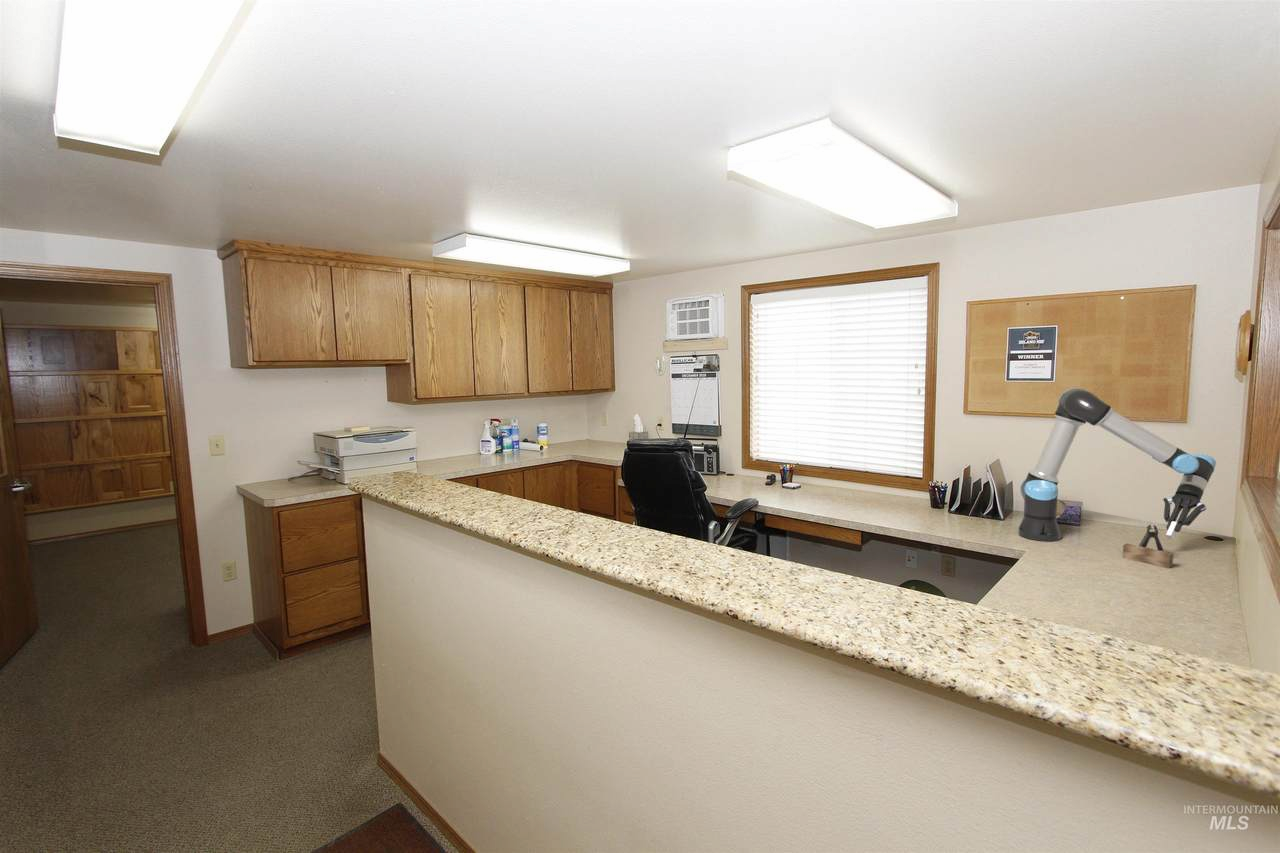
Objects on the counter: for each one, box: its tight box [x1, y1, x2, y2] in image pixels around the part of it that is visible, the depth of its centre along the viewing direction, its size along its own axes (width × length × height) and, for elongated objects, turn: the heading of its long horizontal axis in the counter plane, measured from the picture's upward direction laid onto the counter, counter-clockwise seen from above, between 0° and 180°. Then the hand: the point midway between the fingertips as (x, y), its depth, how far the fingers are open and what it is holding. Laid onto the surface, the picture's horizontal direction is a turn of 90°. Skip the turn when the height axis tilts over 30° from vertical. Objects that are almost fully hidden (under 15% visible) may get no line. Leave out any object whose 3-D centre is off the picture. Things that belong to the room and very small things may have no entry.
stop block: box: [1122, 543, 1174, 569], centre depth 218 cm, size 14×3×5 cm, turn 29°
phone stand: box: [1138, 524, 1165, 552], centre depth 223 cm, size 9×6×12 cm, turn 51°
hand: (1169, 536), depth 226 cm, fingers closed
